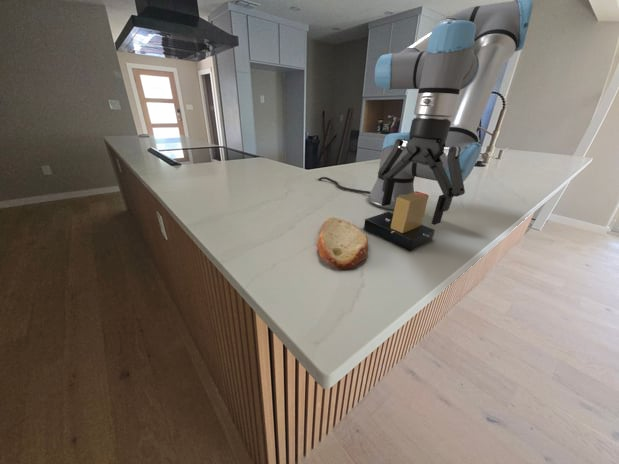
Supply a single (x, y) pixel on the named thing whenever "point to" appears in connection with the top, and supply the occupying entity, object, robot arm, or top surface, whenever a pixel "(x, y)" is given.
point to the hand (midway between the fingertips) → (408, 213)
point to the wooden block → (409, 211)
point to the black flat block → (406, 240)
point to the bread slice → (342, 244)
